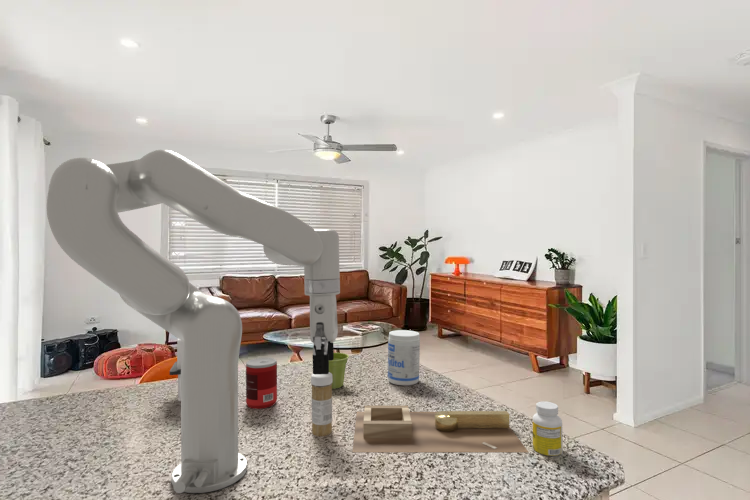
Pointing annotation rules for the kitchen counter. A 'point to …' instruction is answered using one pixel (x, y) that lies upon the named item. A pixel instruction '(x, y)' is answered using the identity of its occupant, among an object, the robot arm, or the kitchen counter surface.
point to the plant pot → (338, 369)
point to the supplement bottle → (547, 430)
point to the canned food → (261, 383)
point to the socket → (387, 421)
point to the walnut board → (438, 438)
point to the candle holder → (178, 365)
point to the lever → (471, 419)
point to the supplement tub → (403, 357)
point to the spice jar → (321, 404)
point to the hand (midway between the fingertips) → (323, 366)
